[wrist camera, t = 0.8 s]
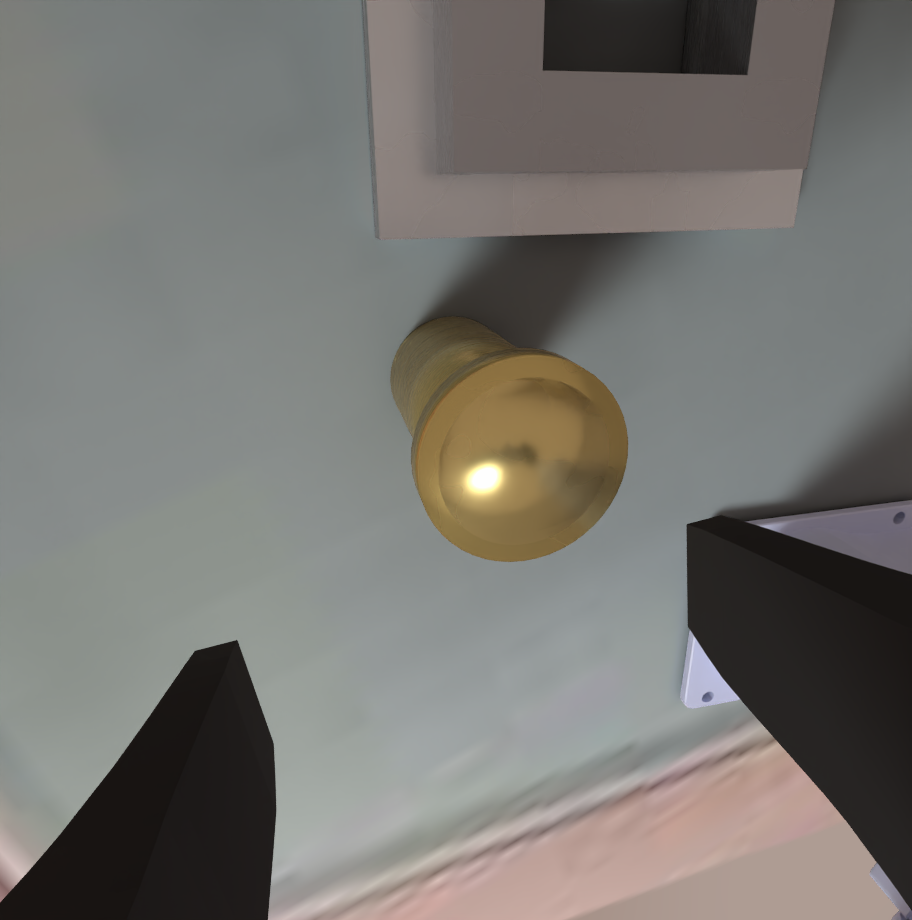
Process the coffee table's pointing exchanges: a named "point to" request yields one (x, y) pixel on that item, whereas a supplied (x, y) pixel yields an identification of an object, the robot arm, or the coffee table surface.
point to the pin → (506, 440)
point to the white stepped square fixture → (587, 122)
